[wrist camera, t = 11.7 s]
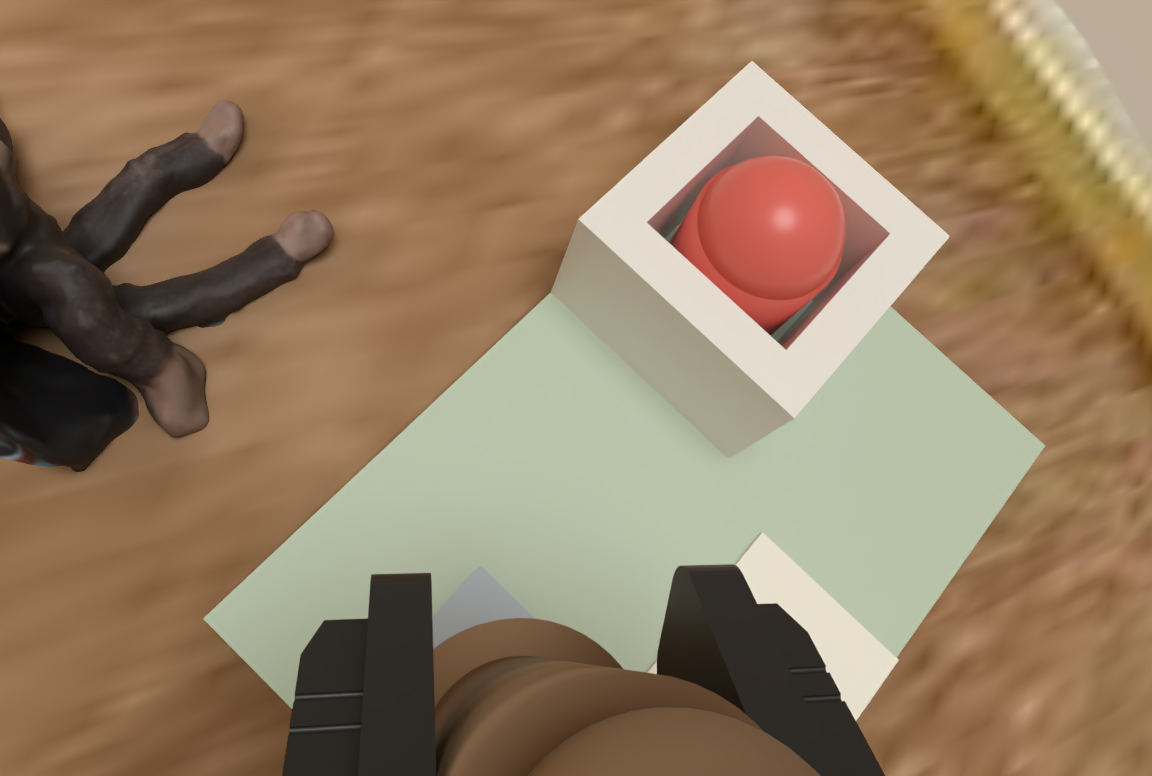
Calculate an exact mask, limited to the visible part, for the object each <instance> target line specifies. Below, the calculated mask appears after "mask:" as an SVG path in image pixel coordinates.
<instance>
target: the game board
mask: <svg viewBox="0 0 1152 776" xmlns="http://www.w3.org/2000/svg"><path fill="white" fill-rule="evenodd" d="M681 223H682V222H681ZM681 223H680V224H681ZM680 224H679V225H678V226H677V227H676V228H675V229H674V230H673V231H672V232H671V233H670V234H669V235H668V236H667V237H666V238H665V240H666V241H668V242H670V241H671V239H672V237H673V236H674V234H675V233H676V231H677V229H678V228H679V226H680ZM813 301H814V300H813V299H812V300H810V301H809V302H808V303H807V304H806V305H805V306H804V307H803V308H801V309H800V310H799V311H798V312H797V313H796V314H795V315H794V316H792V317H791V318H790V319H789V320H788V321H787V322H786V323H784V324H783V325H782V326H781V327H780V328H779V329H778V330H777V331H775V332H774V333H773V334H772V335H771V337H772V338H773V339H775V340H776V341H778V340H779V339H780V338H781V337H782V336H783V334H784V333H785V332H786V331H787V330H788V329H789V328H790V327H791V326H792V325H793V323H794V322H795V321H796V320H797V319H798V318H799V317H800V316H801V315H802V313H803V312H804V311H805V310H806V309H807V308H808V307H809V306H810V305H811V303H812V302H813ZM1044 447H1045V445H1044V444H1043V443H1042V442H1040V441H1039V440H1038V439H1037V438H1036V437H1035V436H1034V435H1033V434H1032V433H1030V432H1029V431H1028V430H1027V429H1026V428H1025V427H1024V426H1023V425H1022V424H1020V423H1019V422H1018V421H1017V420H1016V419H1015V418H1014V417H1013V416H1012V415H1010V414H1009V413H1008V412H1007V411H1006V410H1005V409H1004V408H1003V407H1002V406H1000V405H999V404H998V403H997V402H996V401H995V400H994V399H993V398H992V397H990V396H989V395H988V394H987V393H986V392H985V391H984V390H983V389H982V388H980V387H979V386H978V385H977V384H976V383H975V382H974V381H973V380H972V379H970V378H969V377H968V376H967V375H966V374H965V373H964V372H963V371H962V370H960V369H959V368H958V367H957V366H956V365H955V364H954V363H953V362H952V361H950V360H949V359H948V358H947V357H946V356H945V355H944V354H943V353H942V352H940V351H939V350H938V349H937V348H936V347H935V346H934V345H933V344H932V343H930V342H929V341H928V340H927V339H926V338H925V337H924V336H923V335H922V334H920V333H919V332H918V331H917V330H916V329H915V328H914V327H913V326H912V325H910V324H909V323H908V322H907V321H906V320H905V319H904V318H903V317H902V316H900V315H899V314H898V313H897V312H896V311H895V310H894V309H893V308H892V307H889V308H888V309H887V310H886V312H885V313H884V314H883V315H882V316H881V318H880V319H879V320H878V321H877V322H876V323H875V325H874V326H873V327H872V328H871V329H870V330H869V332H868V333H867V334H866V335H865V336H864V337H863V339H862V340H861V341H860V342H859V343H858V344H857V346H856V347H855V348H854V349H853V350H852V351H851V353H850V354H849V355H848V356H847V357H846V359H845V360H844V361H843V362H842V363H841V364H840V366H839V367H838V368H837V369H836V370H835V371H834V373H833V374H832V375H831V376H830V377H829V378H828V380H827V381H826V382H825V383H824V384H823V385H822V387H821V388H820V389H819V390H818V391H817V393H816V394H815V395H814V396H813V397H812V398H811V400H810V401H809V402H808V403H807V404H806V405H805V407H804V408H803V409H802V410H801V411H800V412H799V414H798V415H797V416H796V417H795V418H794V419H793V420H791V421H789V422H788V423H786V424H784V425H783V426H781V427H780V428H778V429H776V430H775V431H773V432H771V433H770V434H768V435H767V436H765V437H763V438H762V439H760V440H758V441H757V442H755V443H753V444H752V445H750V446H749V447H747V448H745V449H744V450H742V451H740V452H739V453H737V454H736V455H734V456H732V457H731V458H727V457H726V456H725V455H724V454H723V453H722V452H721V451H720V450H719V449H718V448H717V447H716V446H715V445H714V444H712V443H711V442H710V441H709V440H708V439H707V438H706V437H705V436H704V435H703V434H702V433H701V432H700V431H699V430H698V429H696V428H695V427H694V426H693V425H692V424H691V423H690V422H689V421H688V420H687V419H686V418H685V417H684V416H683V415H681V414H680V413H679V412H678V411H677V410H676V409H675V408H674V407H673V406H672V405H671V404H670V403H669V402H668V401H666V400H665V399H664V398H663V397H662V396H661V395H660V394H659V393H658V392H657V391H656V390H655V389H654V388H653V387H652V386H650V385H649V384H648V383H647V382H646V381H645V380H644V379H643V378H642V377H641V376H640V375H639V374H638V373H637V372H635V371H634V370H633V369H632V368H631V367H630V366H629V365H628V364H627V363H626V362H625V361H624V360H623V359H622V358H620V357H619V356H618V355H617V354H616V353H615V352H614V351H613V350H612V349H611V348H610V347H609V346H608V345H607V344H605V343H604V342H603V341H602V340H601V339H600V338H599V337H598V336H597V335H596V334H595V333H594V332H593V331H592V330H591V329H589V328H588V327H587V326H586V325H585V324H584V323H583V322H582V321H581V320H580V319H579V318H578V317H577V316H576V315H574V314H573V313H572V312H571V311H570V310H569V309H568V308H567V307H566V306H565V305H564V304H563V303H562V302H561V301H559V300H558V299H557V298H556V297H555V296H554V295H553V294H552V293H549V294H548V295H547V296H546V297H545V298H544V299H543V300H542V301H541V302H540V303H539V304H538V305H537V306H536V307H535V308H534V309H532V310H531V311H530V312H529V313H528V314H527V315H526V316H525V317H524V318H523V319H522V320H521V321H520V322H519V323H518V324H516V325H515V326H514V327H513V328H512V329H511V330H510V331H509V332H508V333H507V334H506V335H505V336H504V337H503V338H502V339H500V340H499V341H498V342H497V343H496V344H495V345H494V346H493V347H492V348H491V349H490V350H489V351H488V352H487V353H486V354H484V355H483V356H482V357H481V358H480V359H479V360H478V361H477V362H476V363H475V364H474V365H473V366H472V367H471V368H470V369H469V370H467V371H466V372H465V373H464V374H463V375H462V376H461V377H460V378H459V379H458V380H457V381H456V382H455V383H454V384H453V385H451V386H450V387H449V388H448V389H447V390H446V391H445V392H444V393H443V394H442V395H441V396H440V397H439V398H438V399H437V400H435V401H434V402H433V403H432V404H431V405H430V406H429V407H428V408H427V409H426V410H425V411H424V412H423V413H422V414H421V415H420V416H418V417H417V418H416V419H415V420H414V421H413V422H412V423H411V424H410V425H409V426H408V427H407V428H406V429H405V430H404V431H402V432H401V433H400V434H399V435H398V436H397V437H396V438H395V439H394V440H393V441H392V442H391V443H390V444H389V445H388V446H386V447H385V448H384V449H383V450H382V451H381V452H380V453H379V454H378V455H377V456H376V457H375V458H374V459H373V460H372V461H370V462H369V463H368V464H367V465H366V466H365V467H364V468H363V469H362V470H361V471H360V472H359V473H358V474H357V475H356V476H355V477H353V478H352V479H351V480H350V481H349V482H348V483H347V484H346V485H345V486H344V487H343V488H342V489H341V490H340V491H339V492H337V493H336V494H335V495H334V496H333V497H332V498H331V499H330V500H329V501H328V502H327V503H326V504H325V505H324V506H323V507H321V508H320V509H319V510H318V511H317V512H316V513H315V514H314V515H313V516H312V517H311V518H310V519H309V520H308V521H307V522H306V523H304V524H303V525H302V526H301V527H300V528H299V529H298V530H297V531H296V532H295V533H294V534H293V535H292V536H291V537H290V538H288V539H287V540H286V541H285V542H284V543H283V544H282V545H281V546H280V547H279V548H278V549H277V550H276V551H275V552H274V553H272V554H271V555H270V556H269V557H268V558H267V559H266V560H265V561H264V562H263V563H262V564H261V565H260V566H259V567H258V568H256V569H255V570H254V571H253V572H252V573H251V574H250V575H249V576H248V577H247V578H246V579H245V580H244V581H243V582H242V583H241V584H239V585H238V586H237V587H236V588H235V589H234V590H233V591H232V592H231V593H230V594H229V595H228V596H227V597H226V598H225V599H223V600H222V601H221V602H220V603H219V604H218V605H217V606H216V607H215V608H214V609H213V610H212V611H211V612H210V613H209V614H207V615H206V616H205V617H204V618H203V619H204V620H205V621H206V622H207V623H208V624H209V625H210V626H211V627H212V628H213V629H214V630H215V631H216V632H217V633H218V634H219V635H220V636H221V638H222V639H223V640H224V641H225V642H226V643H227V644H228V645H229V646H230V647H231V648H232V649H233V650H234V651H235V652H236V653H237V654H238V655H239V656H240V657H241V658H242V659H243V660H244V661H245V662H246V663H247V664H248V665H249V666H250V667H251V668H252V669H253V670H254V671H255V672H256V673H257V674H258V675H259V676H260V677H261V678H262V679H263V680H264V681H265V682H266V683H267V684H268V685H269V686H270V687H271V688H272V689H273V690H274V691H275V692H276V693H277V694H278V695H279V696H280V697H281V698H282V699H283V700H284V701H285V702H286V703H287V704H288V705H289V707H290V708H291V709H292V708H293V702H294V699H295V688H296V682H297V675H298V668H299V662H300V655H301V653H302V652H303V650H304V649H305V647H306V646H307V644H308V643H309V641H310V640H311V639H312V637H313V636H314V634H315V633H316V631H317V630H318V628H319V627H320V626H321V624H322V623H323V621H324V620H341V619H368V611H369V595H370V580H371V574H400V573H431V582H432V621H433V649H434V648H436V647H437V646H438V645H440V644H441V643H443V642H444V641H445V640H447V639H448V638H450V637H452V636H454V635H456V634H457V633H459V632H461V631H463V630H466V629H468V628H471V627H473V626H476V625H479V624H483V623H487V622H491V621H496V620H502V619H512V618H535V619H541V620H546V621H552V622H555V623H558V624H561V625H565V626H568V627H570V628H572V629H574V630H576V631H578V632H580V633H583V634H584V635H586V636H587V637H589V638H590V639H592V640H593V641H595V642H597V643H598V644H599V645H600V646H601V647H603V648H604V649H605V650H606V651H607V652H608V653H610V654H611V655H612V656H613V658H614V659H615V660H616V661H617V662H618V663H619V664H620V665H621V666H622V668H623V669H625V670H632V671H639V672H646V673H653V674H657V653H658V647H659V642H660V637H661V632H662V627H663V623H664V618H665V613H666V608H667V603H668V599H669V594H670V589H671V584H672V579H673V575H674V573H675V570H676V569H677V567H679V566H684V565H723V564H734V565H736V566H737V567H738V568H739V569H740V570H741V572H742V574H743V575H744V578H745V580H746V582H747V584H748V586H749V588H750V590H751V592H752V594H753V596H754V598H755V600H756V602H757V604H772V603H777V604H778V605H779V606H780V607H782V608H783V609H784V610H785V611H786V612H787V613H788V614H789V615H790V616H791V617H792V618H793V619H794V620H795V621H797V622H798V623H799V624H800V625H801V626H802V627H803V628H804V629H805V630H806V631H807V632H808V633H809V635H810V637H811V639H812V641H813V643H814V645H815V646H816V648H817V650H818V652H819V654H820V656H821V658H822V659H823V661H824V663H825V665H826V672H827V673H830V674H831V676H832V678H833V680H834V682H835V684H836V685H837V687H838V689H839V691H840V693H841V700H842V701H845V702H846V704H847V706H848V708H849V710H850V711H851V713H852V715H853V717H854V719H855V721H856V720H857V719H858V718H859V716H860V715H861V713H862V712H863V710H864V709H865V708H866V706H867V705H868V703H869V702H870V700H871V699H872V697H873V696H874V695H875V693H876V692H877V690H878V689H879V687H880V686H881V685H882V683H883V682H884V680H885V679H886V677H887V676H888V675H889V673H890V672H891V670H892V669H893V667H894V666H895V665H896V663H897V662H898V659H897V656H898V655H899V653H900V652H901V650H902V649H903V648H904V646H905V645H906V643H907V642H908V641H909V639H910V638H911V636H912V635H913V633H914V632H915V631H916V629H917V628H918V626H919V625H920V623H921V622H922V621H923V619H924V618H925V616H926V615H927V613H928V612H929V611H930V609H931V608H932V606H933V605H934V603H935V602H936V601H937V599H938V598H939V596H940V595H941V593H942V592H943V591H944V589H945V588H946V586H947V585H948V583H949V582H950V581H951V579H952V578H953V576H954V575H955V574H956V572H957V571H958V569H959V568H960V566H961V565H962V564H963V562H964V561H965V559H966V558H967V556H968V555H969V554H970V552H971V551H972V549H973V548H974V546H975V545H976V544H977V542H978V541H979V539H980V538H981V536H982V535H983V534H984V532H985V531H986V529H987V528H988V526H989V525H990V524H991V522H992V521H993V519H994V518H995V516H996V515H997V514H998V512H999V511H1000V509H1001V508H1002V507H1003V505H1004V504H1005V502H1006V501H1007V499H1008V498H1009V497H1010V495H1011V494H1012V492H1013V491H1014V489H1015V488H1016V487H1017V485H1018V484H1019V482H1020V481H1021V479H1022V478H1023V477H1024V475H1025V474H1026V472H1027V471H1028V469H1029V468H1030V467H1031V465H1032V464H1033V462H1034V461H1035V459H1036V458H1037V457H1038V455H1039V454H1040V452H1041V451H1042V450H1043V448H1044Z"/></svg>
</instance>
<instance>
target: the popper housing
mask: <svg viewBox="0 0 1152 776" xmlns="http://www.w3.org/2000/svg"><path fill="white" fill-rule="evenodd" d="M761 156H783V157H789V158H793V159H796V160H799V161H802V162H804V163H806V164H808V165H810V166H811V167H813V168H814V169H816V170H817V171H818V172H820V173H821V174H822V175H823V176H824V177H825V178H826V179H827V180H828V181H829V182H830V184H831V185H832V186H833V188H834V189H835V191H836V192H837V194H838V197H839V199H840V201H841V204H842V207H843V210H844V215H845V222H846V235H845V243H844V247H843V253H842V258H841V262H840V265H839V268H838V270H837V272H836V274H835V276H834V277H833V279H832V280H831V281H830V283H829V284H828V285H827V286H826V287H825V288H824V289H823V290H822V291H821V292H819V293H818V294H817V295H816V296H815V297H814V298H813V300H814V301H813V302H812V303H811V305H810V306H809V307H808V308H807V309H806V310H805V311H804V312H803V313H802V315H801V316H800V317H799V318H798V319H797V320H796V321H795V322H794V323H793V325H792V326H791V327H790V328H789V329H788V330H787V331H786V332H785V333H784V334H783V336H782V337H781V338H780V339H779V340H778V341H776V340H775V339H773V338H772V337H771V336H770V335H769V334H768V333H767V332H766V331H765V330H764V329H763V328H761V327H760V326H759V325H758V324H757V323H756V322H755V321H754V320H753V319H752V318H751V317H749V316H748V315H747V314H746V313H745V312H744V311H743V310H742V309H741V308H740V307H739V306H737V305H736V304H735V303H734V302H733V301H732V300H731V299H730V298H729V297H728V296H727V295H725V294H724V293H723V292H722V291H721V290H720V289H719V288H718V287H717V286H716V285H715V284H713V283H712V282H711V281H710V280H709V279H708V278H707V277H706V276H705V275H704V274H702V273H701V272H700V271H699V270H698V269H697V268H696V267H695V266H694V265H693V264H692V263H690V262H689V261H688V260H687V259H686V258H685V257H684V256H683V255H682V254H681V253H680V252H678V251H677V250H676V249H675V248H674V247H673V246H672V245H671V244H670V243H669V242H668V241H666V240H665V238H666V237H667V236H668V235H669V234H670V233H671V232H672V231H673V230H674V229H675V228H676V227H677V226H678V225H679V224H680V223H681V222H682V221H683V220H684V218H685V216H686V215H687V213H688V212H689V210H690V208H691V207H692V205H693V204H694V202H695V200H696V199H697V197H698V196H699V194H700V192H701V191H702V189H703V188H704V186H705V185H706V184H707V182H708V181H709V180H710V179H711V178H712V177H713V176H715V175H716V174H717V173H718V172H720V171H722V170H723V169H725V168H727V167H730V166H732V165H735V164H738V163H740V162H743V161H745V160H748V159H751V158H755V157H761ZM949 237H950V236H949V235H948V234H947V233H946V232H944V231H943V230H942V229H941V228H940V227H939V226H938V225H936V224H935V223H934V222H933V221H932V220H931V219H930V218H929V217H927V216H926V215H925V214H924V213H923V212H922V211H921V210H920V209H918V208H917V207H916V206H915V205H914V204H913V203H912V202H911V201H909V200H908V199H907V198H906V197H905V196H904V195H903V194H902V193H900V192H899V191H898V190H897V189H896V188H895V187H894V186H892V185H891V184H890V183H889V182H888V181H887V180H886V179H885V178H883V177H882V176H881V175H880V174H879V173H878V172H877V171H876V170H874V169H873V168H872V167H871V166H870V165H869V164H868V163H867V162H865V161H864V160H863V159H862V158H861V157H860V156H859V155H857V154H856V153H855V152H854V151H853V150H852V149H851V148H850V147H848V146H847V145H846V144H845V143H844V142H843V141H842V140H841V139H839V138H838V137H837V136H836V135H835V134H834V133H833V132H832V131H830V130H829V129H828V128H827V127H826V126H825V125H824V124H823V123H821V122H820V121H819V120H818V119H817V118H816V117H815V116H813V115H812V114H811V113H810V112H809V111H808V110H807V109H806V108H804V107H803V106H802V105H801V104H800V103H799V102H798V101H797V100H795V99H794V98H793V97H792V96H791V95H790V94H789V93H788V92H786V91H785V90H784V89H783V88H782V87H781V86H780V85H778V84H777V83H776V82H775V81H774V80H773V79H772V78H771V77H769V76H768V75H767V74H766V73H765V72H764V71H763V70H762V69H760V68H759V67H758V66H757V65H756V64H755V63H754V62H753V61H751V62H750V63H749V64H748V65H747V66H746V67H745V68H744V69H743V70H741V71H740V72H739V73H738V74H737V75H736V76H735V77H734V78H733V79H732V80H730V81H729V82H728V83H727V84H726V85H725V86H724V87H723V88H722V89H721V90H720V91H718V92H717V93H716V94H715V95H714V96H713V97H712V98H711V99H710V100H709V101H707V102H706V103H705V104H704V105H703V106H702V107H701V108H700V109H699V110H698V111H696V112H695V113H694V114H693V115H692V116H691V117H690V118H689V119H688V120H687V121H685V122H684V123H683V124H682V125H681V126H680V127H679V128H678V129H677V130H676V131H675V132H673V133H672V134H671V135H670V136H669V137H668V138H667V139H666V140H665V141H664V142H662V143H661V144H660V145H659V146H658V147H657V148H656V149H655V150H654V151H653V152H651V153H650V154H649V155H648V156H647V157H646V158H645V159H644V160H643V161H642V162H641V163H639V164H638V165H637V166H636V167H635V168H634V169H633V170H632V171H631V172H630V173H628V174H627V175H626V176H625V177H624V178H623V179H622V180H621V181H620V182H619V183H617V184H616V185H615V186H614V187H613V188H612V189H611V190H610V191H609V192H608V193H606V194H605V195H604V196H603V197H602V198H601V199H600V200H599V201H598V202H597V203H596V204H594V205H593V206H592V207H591V208H590V209H589V210H588V211H587V212H586V213H585V214H583V215H582V216H581V217H580V218H579V219H578V221H577V224H576V227H575V229H574V232H573V235H572V237H571V240H570V243H569V245H568V248H567V251H566V253H565V256H564V259H563V261H562V264H561V266H560V269H559V272H558V274H557V277H556V280H555V282H554V285H553V288H552V290H551V293H552V294H553V295H554V296H555V297H556V298H557V299H558V300H559V301H561V302H562V303H563V304H564V305H565V306H566V307H567V308H568V309H569V310H570V311H571V312H572V313H573V314H574V315H576V316H577V317H578V318H579V319H580V320H581V321H582V322H583V323H584V324H585V325H586V326H587V327H588V328H589V329H591V330H592V331H593V332H594V333H595V334H596V335H597V336H598V337H599V338H600V339H601V340H602V341H603V342H604V343H605V344H607V345H608V346H609V347H610V348H611V349H612V350H613V351H614V352H615V353H616V354H617V355H618V356H619V357H620V358H622V359H623V360H624V361H625V362H626V363H627V364H628V365H629V366H630V367H631V368H632V369H633V370H634V371H635V372H637V373H638V374H639V375H640V376H641V377H642V378H643V379H644V380H645V381H646V382H647V383H648V384H649V385H650V386H652V387H653V388H654V389H655V390H656V391H657V392H658V393H659V394H660V395H661V396H662V397H663V398H664V399H665V400H666V401H668V402H669V403H670V404H671V405H672V406H673V407H674V408H675V409H676V410H677V411H678V412H679V413H680V414H681V415H683V416H684V417H685V418H686V419H687V420H688V421H689V422H690V423H691V424H692V425H693V426H694V427H695V428H696V429H698V430H699V431H700V432H701V433H702V434H703V435H704V436H705V437H706V438H707V439H708V440H709V441H710V442H711V443H712V444H714V445H715V446H716V447H717V448H718V449H719V450H720V451H721V452H722V453H723V454H724V455H725V456H726V457H727V458H731V457H732V456H734V455H736V454H737V453H739V452H740V451H742V450H744V449H745V448H747V447H749V446H750V445H752V444H753V443H755V442H757V441H758V440H760V439H762V438H763V437H765V436H767V435H768V434H770V433H771V432H773V431H775V430H776V429H778V428H780V427H781V426H783V425H784V424H786V423H788V422H789V421H791V420H793V419H794V418H795V417H796V416H797V415H798V414H799V412H800V411H801V410H802V409H803V408H804V407H805V405H806V404H807V403H808V402H809V401H810V400H811V398H812V397H813V396H814V395H815V394H816V393H817V391H818V390H819V389H820V388H821V387H822V385H823V384H824V383H825V382H826V381H827V380H828V378H829V377H830V376H831V375H832V374H833V373H834V371H835V370H836V369H837V368H838V367H839V366H840V364H841V363H842V362H843V361H844V360H845V359H846V357H847V356H848V355H849V354H850V353H851V351H852V350H853V349H854V348H855V347H856V346H857V344H858V343H859V342H860V341H861V340H862V339H863V337H864V336H865V335H866V334H867V333H868V332H869V330H870V329H871V328H872V327H873V326H874V325H875V323H876V322H877V321H878V320H879V319H880V318H881V316H882V315H883V314H884V313H885V312H886V310H887V309H888V308H889V307H890V306H891V305H892V303H893V302H894V301H895V300H896V299H897V298H898V296H899V295H900V294H901V293H902V292H903V291H904V289H905V288H906V287H907V286H908V285H909V284H910V282H911V281H912V280H913V279H914V278H915V276H916V275H917V274H918V273H919V272H920V271H921V269H922V268H923V267H924V266H925V265H926V264H927V262H928V261H929V260H930V259H931V258H932V257H933V255H934V254H935V253H936V252H937V251H938V250H939V248H940V247H941V246H942V245H943V244H944V242H945V241H946V240H947V239H948V238H949Z"/></svg>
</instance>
